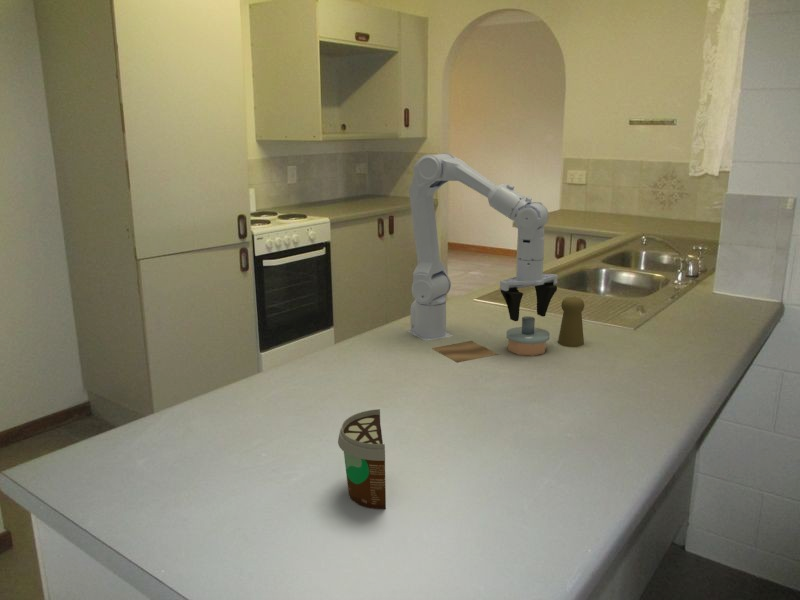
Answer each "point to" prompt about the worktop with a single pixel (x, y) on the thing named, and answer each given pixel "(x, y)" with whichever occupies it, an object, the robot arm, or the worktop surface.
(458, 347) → the board
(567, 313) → the cork
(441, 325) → the robot arm
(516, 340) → the lid
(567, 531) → the worktop surface
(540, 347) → the pot
